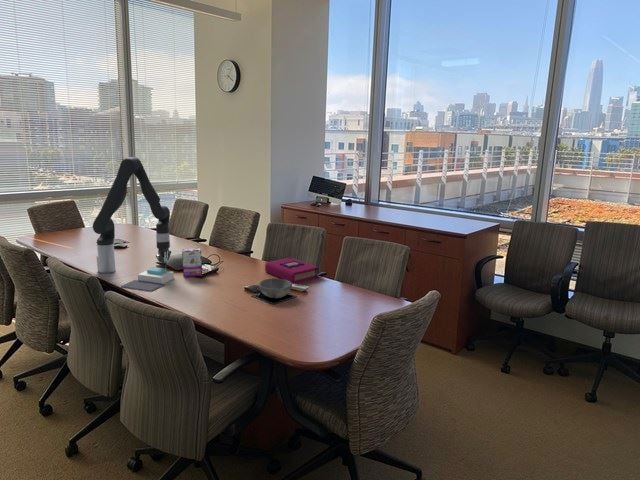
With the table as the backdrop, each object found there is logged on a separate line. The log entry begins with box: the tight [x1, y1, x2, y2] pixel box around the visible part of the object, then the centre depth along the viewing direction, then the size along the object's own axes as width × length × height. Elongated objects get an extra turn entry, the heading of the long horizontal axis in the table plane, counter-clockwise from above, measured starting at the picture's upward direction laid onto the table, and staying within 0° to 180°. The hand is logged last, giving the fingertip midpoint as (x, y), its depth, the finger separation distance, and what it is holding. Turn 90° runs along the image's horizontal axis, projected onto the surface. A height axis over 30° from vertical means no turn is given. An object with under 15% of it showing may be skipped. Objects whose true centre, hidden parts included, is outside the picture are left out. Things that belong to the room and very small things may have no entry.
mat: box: [120, 279, 166, 292], centre depth 268 cm, size 20×12×1 cm, turn 73°
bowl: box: [258, 277, 293, 299], centre depth 258 cm, size 18×18×8 cm
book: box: [264, 257, 320, 284], centre depth 296 cm, size 21×28×8 cm
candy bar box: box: [181, 247, 203, 278], centre depth 288 cm, size 11×5×16 cm, turn 105°
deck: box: [137, 270, 175, 284], centre depth 279 cm, size 16×12×4 cm
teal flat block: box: [146, 267, 168, 275], centre depth 279 cm, size 9×6×2 cm, turn 73°
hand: (164, 268), depth 286 cm, fingers closed
